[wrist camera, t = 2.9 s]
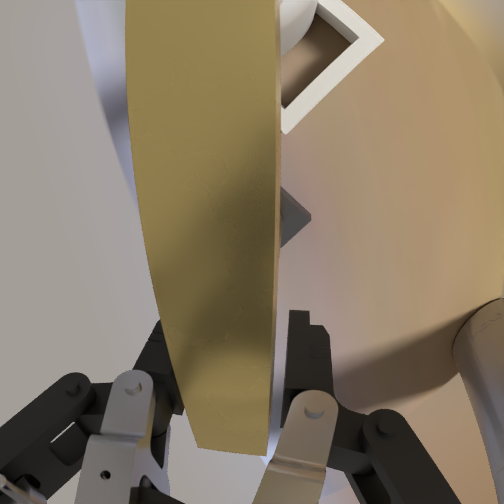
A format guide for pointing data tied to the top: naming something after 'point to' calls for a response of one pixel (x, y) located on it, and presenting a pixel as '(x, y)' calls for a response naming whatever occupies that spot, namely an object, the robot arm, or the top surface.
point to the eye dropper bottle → (295, 21)
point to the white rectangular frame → (361, 46)
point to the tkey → (211, 201)
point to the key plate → (291, 216)
